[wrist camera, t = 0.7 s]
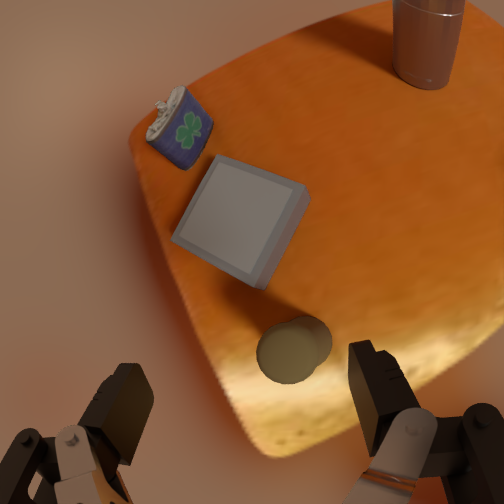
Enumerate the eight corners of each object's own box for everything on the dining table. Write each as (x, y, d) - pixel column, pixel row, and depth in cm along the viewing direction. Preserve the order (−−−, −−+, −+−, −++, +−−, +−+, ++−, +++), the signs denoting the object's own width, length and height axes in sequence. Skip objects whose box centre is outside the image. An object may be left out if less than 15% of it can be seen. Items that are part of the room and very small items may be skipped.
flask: (204, 118, 43) (168, 76, 33) (219, 120, 42) (185, 76, 32) (176, 169, 43) (132, 134, 33) (191, 173, 42) (148, 137, 32)
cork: (329, 371, 31) (318, 397, 20) (276, 366, 33) (242, 387, 22) (334, 317, 32) (326, 319, 22) (281, 313, 34) (249, 313, 24)
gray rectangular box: (229, 167, 40) (216, 153, 36) (310, 199, 35) (305, 184, 31) (186, 247, 39) (168, 239, 35) (264, 290, 35) (252, 287, 31)
